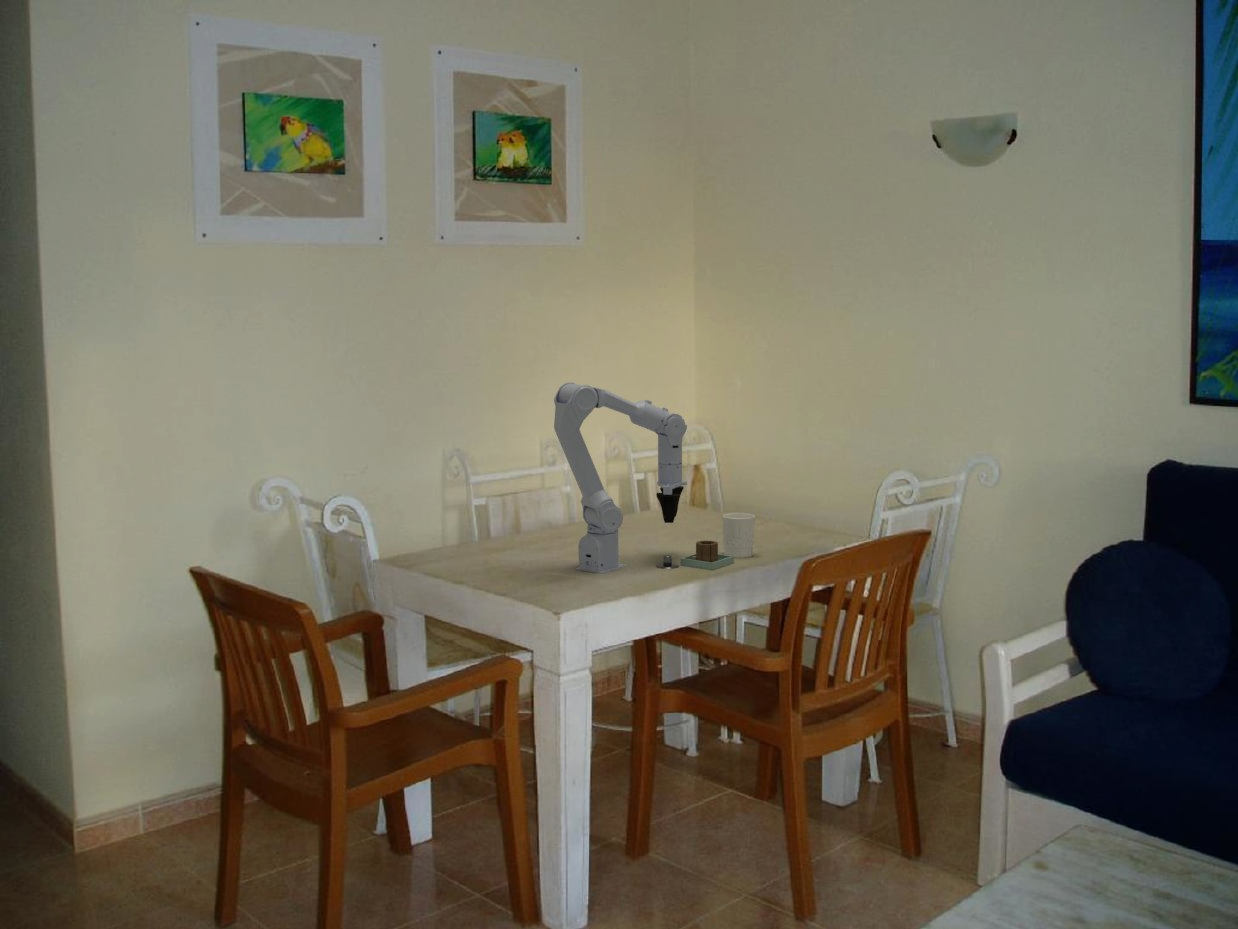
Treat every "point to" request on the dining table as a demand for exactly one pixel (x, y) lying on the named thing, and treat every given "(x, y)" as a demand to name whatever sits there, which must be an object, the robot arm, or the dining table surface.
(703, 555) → the brown hollow octagonal cylinder
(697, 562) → the tray
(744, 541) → the white cup
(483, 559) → the dining table surface
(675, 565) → the dark grey round stand
